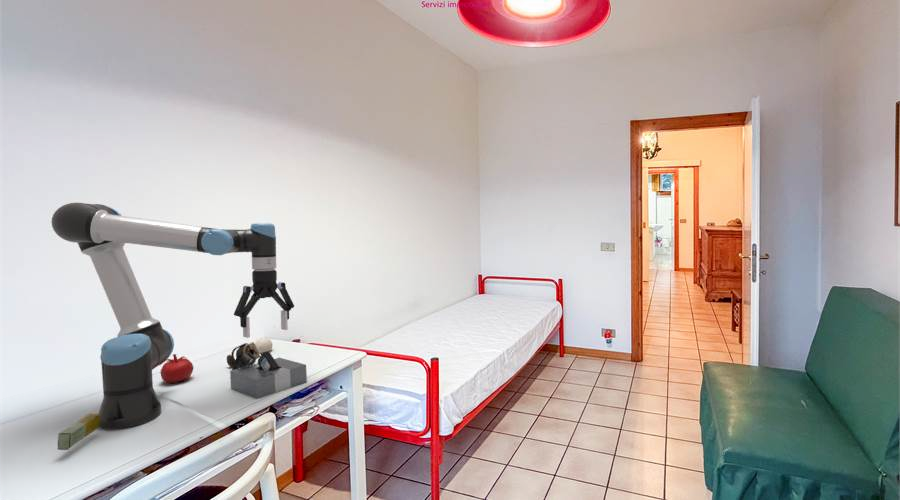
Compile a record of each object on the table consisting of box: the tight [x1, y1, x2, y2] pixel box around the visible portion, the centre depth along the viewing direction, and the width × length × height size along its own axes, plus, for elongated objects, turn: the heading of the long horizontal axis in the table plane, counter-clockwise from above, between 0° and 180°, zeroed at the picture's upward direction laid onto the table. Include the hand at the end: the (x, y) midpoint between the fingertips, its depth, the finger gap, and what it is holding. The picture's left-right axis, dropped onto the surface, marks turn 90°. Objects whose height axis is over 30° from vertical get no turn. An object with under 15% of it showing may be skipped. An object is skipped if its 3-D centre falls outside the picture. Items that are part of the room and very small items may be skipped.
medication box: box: [57, 413, 100, 451], centre depth 115 cm, size 12×3×4 cm, turn 8°
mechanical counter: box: [226, 342, 261, 369], centre depth 170 cm, size 7×13×10 cm, turn 89°
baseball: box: [254, 337, 273, 354], centre depth 191 cm, size 7×7×7 cm
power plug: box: [231, 353, 257, 370], centre depth 158 cm, size 6×8×12 cm
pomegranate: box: [159, 353, 194, 384], centre depth 160 cm, size 10×10×9 cm
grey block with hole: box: [229, 357, 308, 400], centre depth 151 cm, size 18×16×6 cm
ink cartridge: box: [257, 351, 279, 372], centre depth 152 cm, size 5×2×8 cm
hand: (266, 333), depth 151 cm, fingers open, 13 cm apart
